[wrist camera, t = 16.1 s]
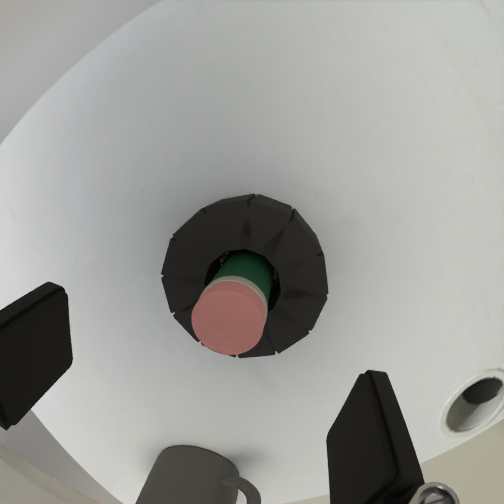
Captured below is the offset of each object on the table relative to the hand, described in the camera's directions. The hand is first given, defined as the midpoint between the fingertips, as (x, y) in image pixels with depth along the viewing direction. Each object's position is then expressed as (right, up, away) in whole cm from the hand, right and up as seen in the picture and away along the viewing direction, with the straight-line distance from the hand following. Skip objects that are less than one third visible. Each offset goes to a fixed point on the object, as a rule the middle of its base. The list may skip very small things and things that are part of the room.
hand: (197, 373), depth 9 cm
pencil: (+2, +3, +12) cm, 12 cm away
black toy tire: (+2, +3, +12) cm, 12 cm away
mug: (-2, -18, +18) cm, 26 cm away
